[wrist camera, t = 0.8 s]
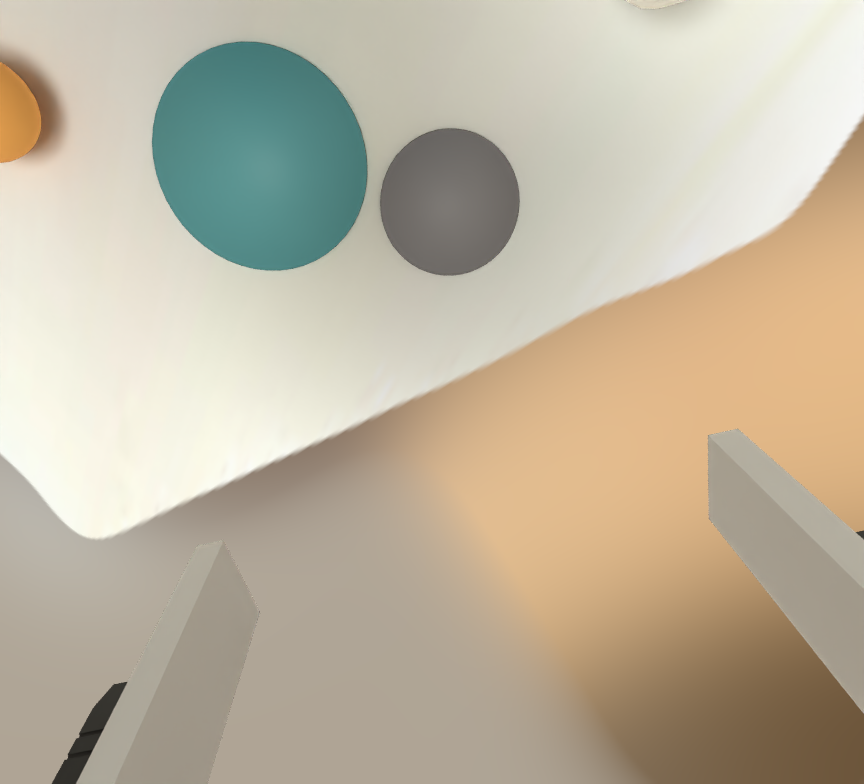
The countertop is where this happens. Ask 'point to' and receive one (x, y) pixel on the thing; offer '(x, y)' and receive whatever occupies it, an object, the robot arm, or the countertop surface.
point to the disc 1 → (259, 156)
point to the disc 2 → (449, 202)
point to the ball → (17, 116)
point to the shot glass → (654, 3)
